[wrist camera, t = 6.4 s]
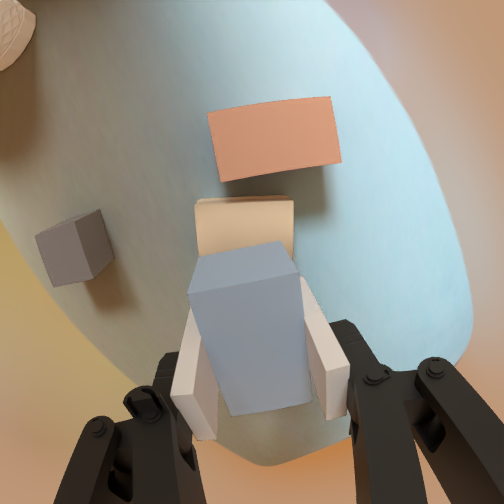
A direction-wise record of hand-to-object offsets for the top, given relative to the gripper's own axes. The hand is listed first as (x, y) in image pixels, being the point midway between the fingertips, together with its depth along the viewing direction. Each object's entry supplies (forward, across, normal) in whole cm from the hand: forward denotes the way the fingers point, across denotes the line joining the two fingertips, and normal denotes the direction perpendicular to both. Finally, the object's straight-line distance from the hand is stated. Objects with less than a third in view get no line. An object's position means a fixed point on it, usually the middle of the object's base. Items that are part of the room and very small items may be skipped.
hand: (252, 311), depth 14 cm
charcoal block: (+7, -12, +4) cm, 15 cm away
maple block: (+8, 0, 0) cm, 8 cm away
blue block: (+1, 0, 0) cm, 1 cm away
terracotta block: (+7, +3, +8) cm, 11 cm away
